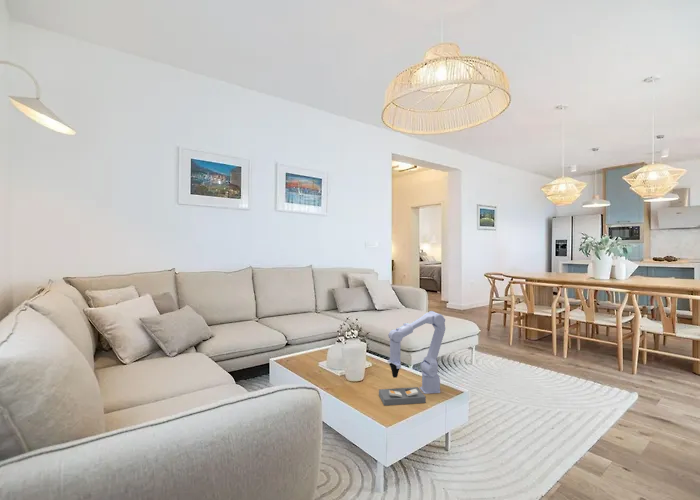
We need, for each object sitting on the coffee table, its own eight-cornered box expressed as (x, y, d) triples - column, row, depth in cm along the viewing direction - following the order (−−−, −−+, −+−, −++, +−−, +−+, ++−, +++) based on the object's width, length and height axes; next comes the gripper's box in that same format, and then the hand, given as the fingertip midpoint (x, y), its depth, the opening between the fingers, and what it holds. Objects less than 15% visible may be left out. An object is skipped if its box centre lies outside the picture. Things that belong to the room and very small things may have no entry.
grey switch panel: (417, 392, 187) (417, 386, 187) (425, 402, 175) (425, 396, 175) (378, 394, 184) (378, 389, 184) (384, 405, 172) (384, 399, 172)
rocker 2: (416, 390, 180) (415, 388, 180) (418, 393, 176) (417, 391, 176) (405, 393, 179) (404, 391, 179) (407, 396, 175) (407, 394, 175)
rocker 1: (399, 393, 178) (400, 391, 178) (401, 396, 175) (402, 394, 175) (388, 392, 177) (389, 390, 177) (390, 395, 174) (390, 393, 174)
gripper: (384, 348, 191) (384, 372, 192) (391, 357, 177) (391, 382, 177) (396, 347, 192) (396, 371, 193) (404, 356, 178) (404, 382, 178)
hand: (394, 377), depth 185 cm, fingers closed
